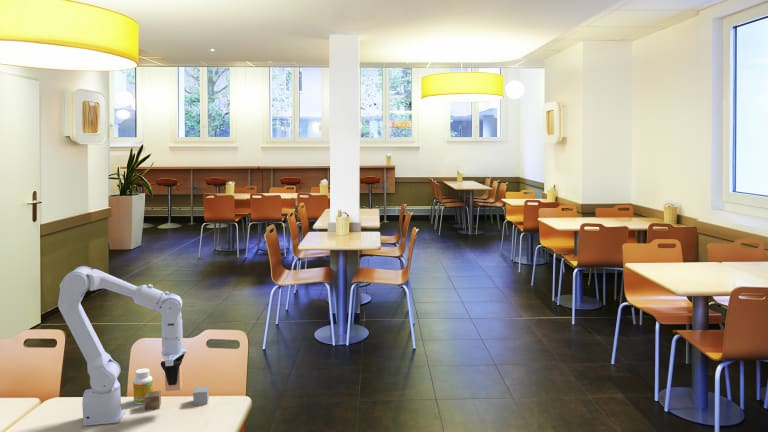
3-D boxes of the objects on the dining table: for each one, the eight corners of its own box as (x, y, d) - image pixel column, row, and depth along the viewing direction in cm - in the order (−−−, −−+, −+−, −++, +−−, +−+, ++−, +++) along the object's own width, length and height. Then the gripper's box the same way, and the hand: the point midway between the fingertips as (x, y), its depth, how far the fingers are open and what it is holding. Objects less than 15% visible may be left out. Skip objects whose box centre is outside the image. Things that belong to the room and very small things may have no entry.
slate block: (193, 405, 168) (193, 392, 167) (195, 400, 172) (194, 387, 171) (207, 404, 169) (207, 391, 168) (208, 399, 172) (208, 386, 172)
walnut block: (144, 410, 164) (144, 397, 164) (146, 405, 168) (146, 392, 168) (159, 409, 165) (159, 396, 165) (161, 403, 169) (160, 390, 169)
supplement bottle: (148, 405, 168) (146, 374, 167) (130, 404, 168) (129, 373, 167) (156, 397, 173) (155, 367, 172) (139, 397, 173) (138, 367, 172)
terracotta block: (165, 391, 161) (164, 367, 160) (167, 386, 165) (167, 363, 164) (180, 390, 162) (179, 366, 161) (181, 384, 165) (181, 362, 165)
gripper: (183, 343, 156) (184, 390, 157) (189, 328, 170) (190, 371, 171) (156, 344, 154) (158, 392, 155) (165, 330, 168) (166, 373, 169)
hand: (173, 381), depth 163 cm, fingers closed on terracotta block, 4 cm apart
